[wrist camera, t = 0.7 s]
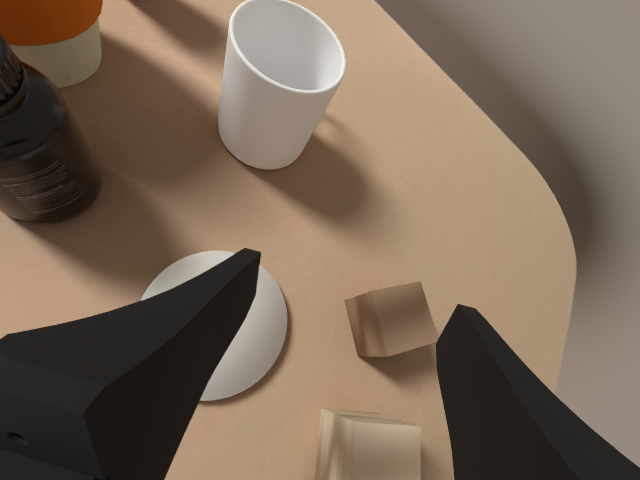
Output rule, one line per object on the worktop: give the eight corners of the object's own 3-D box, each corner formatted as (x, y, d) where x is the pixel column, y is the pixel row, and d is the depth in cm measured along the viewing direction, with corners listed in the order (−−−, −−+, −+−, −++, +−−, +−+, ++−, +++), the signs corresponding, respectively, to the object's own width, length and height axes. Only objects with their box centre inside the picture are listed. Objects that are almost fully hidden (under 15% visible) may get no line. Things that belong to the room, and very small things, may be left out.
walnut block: (402, 343, 30) (438, 341, 26) (357, 356, 28) (388, 356, 24) (388, 291, 32) (420, 281, 27) (344, 300, 29) (371, 291, 25)
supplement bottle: (108, 150, 26) (53, 11, 16) (97, 228, 24) (24, 128, 13) (-1, 137, 24) (-155, -40, 13) (-25, 223, 21) (-232, 95, 11)
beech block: (373, 483, 25) (421, 516, 20) (314, 483, 24) (350, 519, 19) (375, 412, 27) (420, 426, 22) (321, 408, 26) (355, 422, 20)
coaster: (273, 404, 24) (275, 406, 24) (112, 392, 21) (110, 394, 20) (293, 268, 29) (295, 265, 28) (161, 240, 25) (160, 237, 25)
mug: (330, 117, 36) (379, 33, 27) (274, 189, 30) (312, 115, 21) (267, 69, 35) (295, -37, 26) (197, 134, 29) (201, 30, 20)
